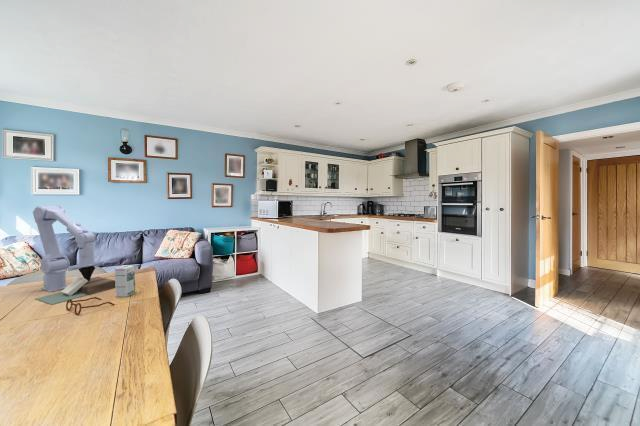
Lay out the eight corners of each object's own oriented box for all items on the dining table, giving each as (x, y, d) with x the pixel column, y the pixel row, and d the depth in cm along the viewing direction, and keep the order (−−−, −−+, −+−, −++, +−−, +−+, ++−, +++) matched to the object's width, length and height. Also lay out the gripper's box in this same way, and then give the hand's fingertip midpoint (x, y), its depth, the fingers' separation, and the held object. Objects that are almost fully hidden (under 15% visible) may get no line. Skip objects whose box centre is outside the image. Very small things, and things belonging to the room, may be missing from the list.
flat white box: (64, 293, 129) (61, 291, 128) (81, 279, 135) (78, 276, 134) (70, 295, 126) (67, 293, 125) (88, 280, 133) (85, 278, 131)
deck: (71, 290, 135) (71, 282, 135) (98, 283, 146) (98, 276, 146) (88, 295, 129) (88, 287, 128) (115, 287, 140) (115, 280, 139)
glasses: (65, 310, 112) (64, 299, 112) (101, 300, 124) (101, 290, 123) (78, 316, 106) (78, 305, 106) (115, 305, 117) (115, 294, 117)
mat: (34, 299, 123) (34, 298, 123) (70, 290, 134) (70, 289, 134) (51, 304, 116) (51, 304, 116) (87, 295, 128) (87, 294, 128)
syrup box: (126, 297, 127) (126, 268, 126) (115, 296, 127) (114, 267, 126) (135, 292, 132) (134, 265, 132) (124, 292, 132) (123, 264, 132)
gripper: (72, 259, 126) (73, 286, 126) (107, 253, 139) (107, 278, 140) (65, 257, 128) (66, 284, 129) (99, 252, 142) (100, 276, 142)
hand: (87, 281), depth 135 cm, fingers closed
